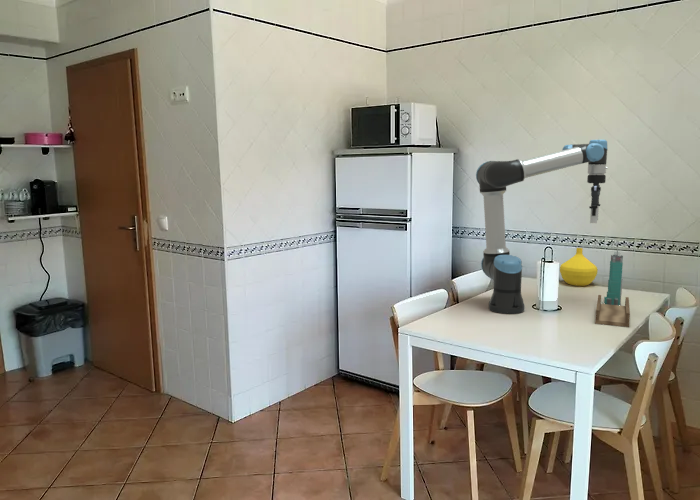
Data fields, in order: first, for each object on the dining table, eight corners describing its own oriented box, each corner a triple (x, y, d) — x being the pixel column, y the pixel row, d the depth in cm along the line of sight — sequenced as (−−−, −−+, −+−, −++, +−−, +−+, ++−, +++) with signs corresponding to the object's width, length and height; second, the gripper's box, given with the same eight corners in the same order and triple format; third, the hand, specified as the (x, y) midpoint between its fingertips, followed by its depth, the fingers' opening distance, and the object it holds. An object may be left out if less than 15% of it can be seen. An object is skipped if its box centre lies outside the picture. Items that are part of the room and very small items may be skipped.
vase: (563, 287, 281) (564, 250, 278) (556, 280, 299) (557, 245, 296) (601, 288, 278) (603, 251, 275) (591, 280, 296) (593, 245, 293)
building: (621, 307, 242) (626, 239, 238) (607, 306, 244) (611, 239, 239) (618, 303, 248) (622, 238, 244) (603, 303, 249) (607, 237, 245)
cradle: (595, 323, 218) (596, 310, 217) (597, 306, 243) (598, 294, 242) (628, 327, 213) (629, 313, 212) (627, 309, 238) (628, 297, 237)
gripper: (605, 175, 235) (602, 224, 239) (606, 173, 257) (603, 219, 260) (586, 175, 239) (583, 224, 242) (589, 173, 260) (586, 218, 264)
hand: (594, 221), depth 251 cm, fingers open, 12 cm apart
